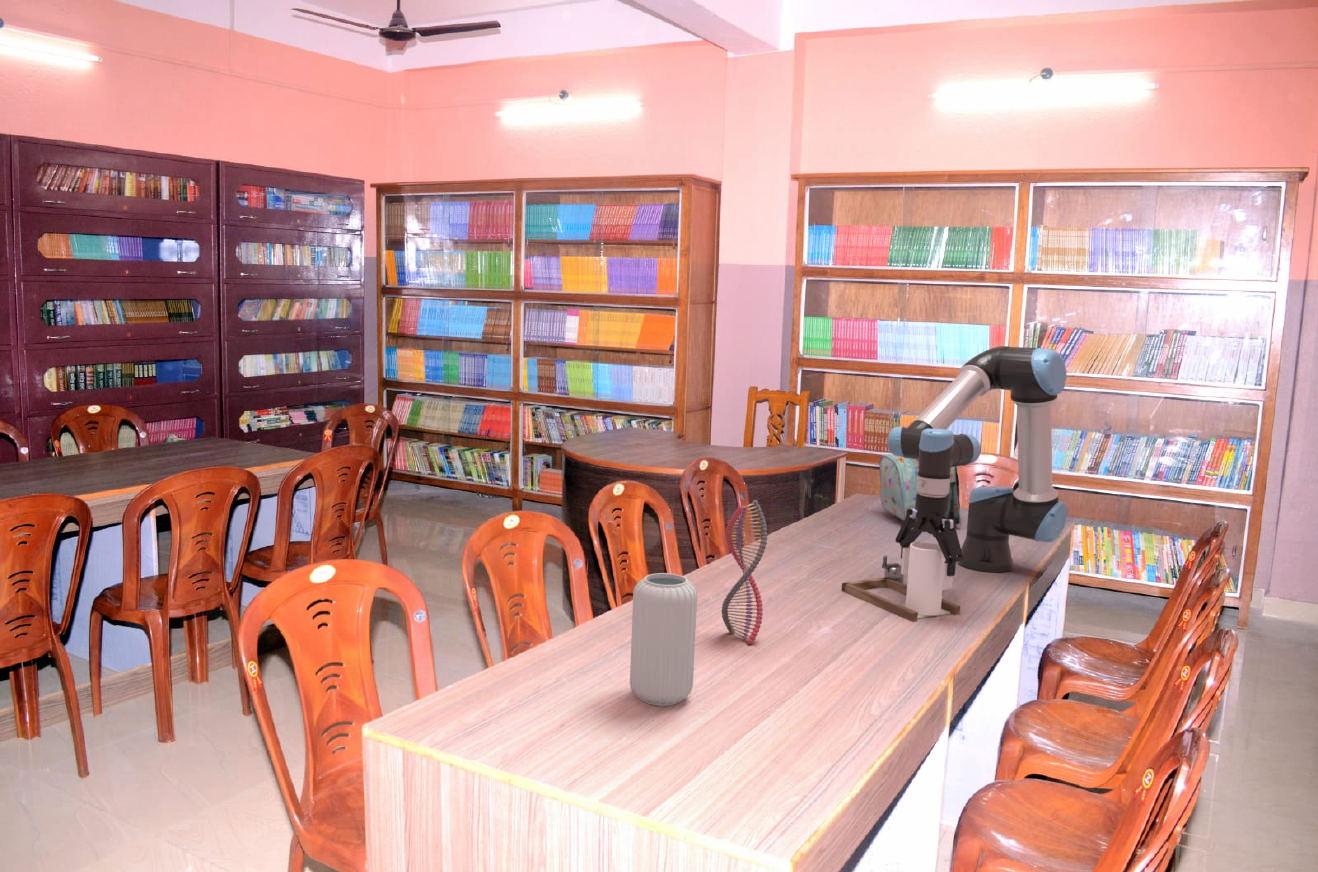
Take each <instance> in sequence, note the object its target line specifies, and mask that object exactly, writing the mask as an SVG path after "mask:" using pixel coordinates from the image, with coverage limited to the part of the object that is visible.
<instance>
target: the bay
mask: <svg viewBox="0 0 1318 872" xmlns="http://www.w3.org/2000/svg"><path fill="white" fill-rule="evenodd" d="M879 588H880V589H881V588H888V589H891V590H893V591H896V592H897V593H900V594H902V595H905V596H906V594H907V584H905V583H904V582H903V583H900V582H898V581H895V580H889V579H886V578H884V577H879V578H878V577H877V578H872V579H864V580H854V581H847V582H842V583H841V591H842V592H845V593H846V594H849V595H851V596H853V597H855V598H858V599H861V600H863V601H865V602H867V603H870V604H871V605H873V606H876V607H878V608H881V609H883V610H885V611H888V612H890V613H892V614H894V615H897V616H899V617H901V618H904V619H906V620H908V621H910V622H917V621H918V620H919V619H925V618H926V619H927V618H931V617H938V616H945V615H950V614H951V615H954V616H956V615H960V612H961V610H960V609H961V606H960V605H958V604H955V603H953V602H951V601H948V600H946V599H944V598H942V601H941V613H940V614H938V615H933V616H926V615H918V612H916V611H913V610H911V609H909V608H906V606H905V605H904V606H903V605H902V604H899V603H896V602H895V601H892V600H889V599H887V598H884V597H882V596H880V595H877V594H876V593H873V592H870V591H868V590H871V589H879Z"/></svg>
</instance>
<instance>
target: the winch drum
mask: <svg viewBox="0 0 1318 872" xmlns="http://www.w3.org/2000/svg"><path fill="white" fill-rule="evenodd" d="M882 556H883V557H882V564H881V568H882V569H884V574H883V578H886V579H889V580H895V581H898V582H900V583H903V584H904V578H905V577H904V575H905V574H901V566H902V564H901V565H900V563H899V562H893V563H888V555H882Z"/></svg>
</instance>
